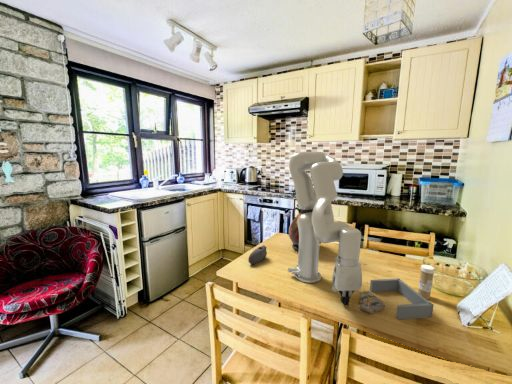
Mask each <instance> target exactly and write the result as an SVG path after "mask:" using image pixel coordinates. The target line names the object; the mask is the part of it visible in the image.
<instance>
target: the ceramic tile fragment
mask: <svg viewBox="0 0 512 384" xmlns="http://www.w3.org/2000/svg"><path fill="white" fill-rule="evenodd" d="M358 294H359V296H360V302H359V305H358V309H359V310H362V311H363V312H366V313H368V314H371V315H374V314H376V313H377V312H379V311H382V310H384V309H385V308H386V307H387V305H386V304H385V303H384V301H382V299H380V298H378V297H377V296H376V295H375V294H374V293H373V292H371V291H370V290H366V291H362V292H361V291H359V293H358Z"/></svg>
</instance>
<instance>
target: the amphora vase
mask: <svg viewBox="0 0 512 384" xmlns="http://www.w3.org/2000/svg"><path fill="white" fill-rule="evenodd" d="M296 211H297V212H298V214H297V215H295V214H296ZM310 212H313V209H312V210H302V209H300V208H299V206H298V203H297V204H296V207H294V208H293V209H292V212H291V223H290V225H289V227H288V237H289V239H290V241H291V243H292V244H291V246H292V249H293V250H295V251H296V252H298V253H299V230H298V218H299V217H300V216H301V215H302V214H305V213H310ZM321 244H322V243H321V242H320V241H319V245H321Z"/></svg>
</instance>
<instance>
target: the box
mask: <svg viewBox="0 0 512 384" xmlns="http://www.w3.org/2000/svg"><path fill="white" fill-rule="evenodd" d="M391 291H392V292H395V291H397V292H398V293H399V294H400V295H402V296H403V297H404V298H405V299H407V300H408V301H409V302H410V303H407V304H397V307H396V316H395V318H396V319H397V320H408V319H409V320H411V319H412V320H413V319H423V318H425V319H426V318H432V317H433V313H434V312H433V311H434V306H435V305H434V303H432V302H430V301H429V299H425V298H424V297H423V296H421V295H420V294H419V293H418V291H416V290H415V289H414V288H412V287H411V286H410V285H408V284H407V283H405V281H404V280H402V279H400V278H382V279H381V278H380V279H370V284H369V292H370V293H375V292H376V293H377V292H378V293H379V292H391Z"/></svg>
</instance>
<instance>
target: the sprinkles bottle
mask: <svg viewBox="0 0 512 384" xmlns="http://www.w3.org/2000/svg"><path fill="white" fill-rule="evenodd" d="M435 271H436V269H435V267H434V266H432V265H429V264H421V265H420V277H419V283H418V290H417V293H419V294H420V295H421V296H423V297H424V298H425V299H427V300H430V299H431V292H432V288H433V287H432V286H433V282H434V279H433V278H434V274H435Z"/></svg>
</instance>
